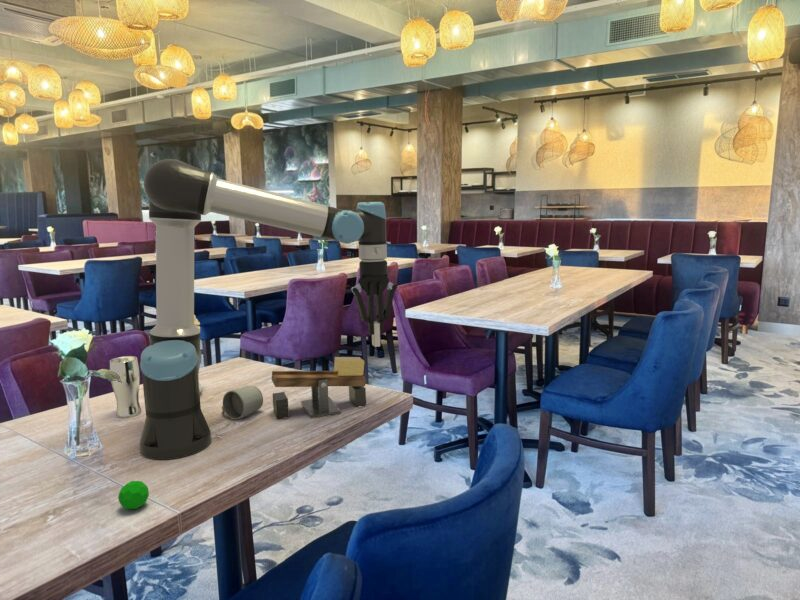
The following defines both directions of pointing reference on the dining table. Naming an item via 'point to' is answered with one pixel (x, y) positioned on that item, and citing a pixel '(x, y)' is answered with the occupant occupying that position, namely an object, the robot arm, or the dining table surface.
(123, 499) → the polyhedron
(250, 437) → the dining table surface
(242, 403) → the ceramic mug
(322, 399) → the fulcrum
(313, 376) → the beam
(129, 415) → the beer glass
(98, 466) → the dining table surface
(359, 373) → the block
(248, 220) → the robot arm
